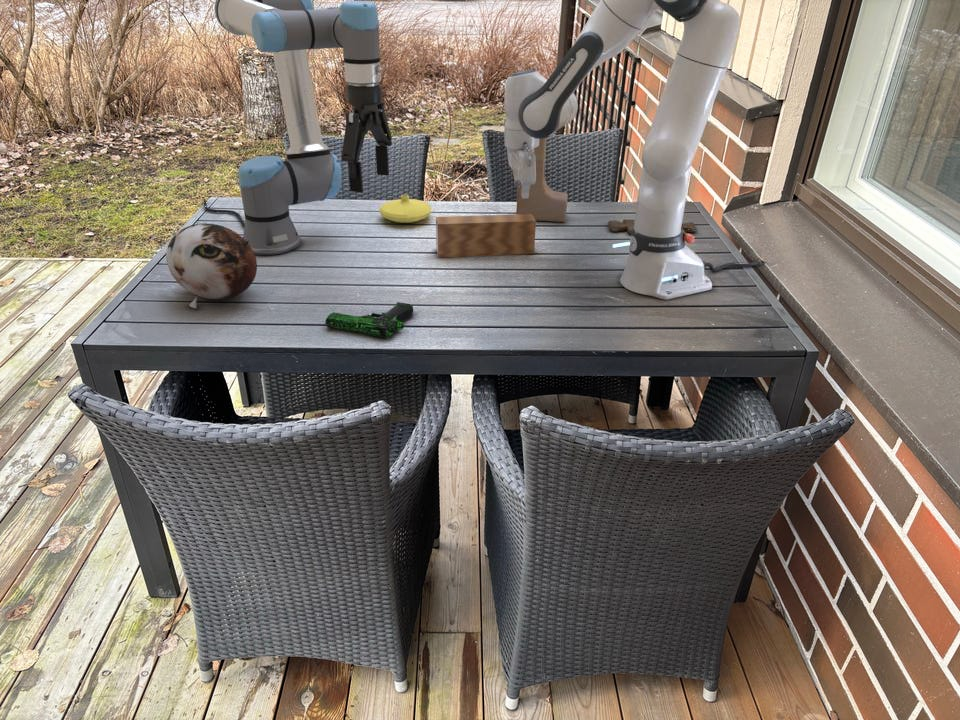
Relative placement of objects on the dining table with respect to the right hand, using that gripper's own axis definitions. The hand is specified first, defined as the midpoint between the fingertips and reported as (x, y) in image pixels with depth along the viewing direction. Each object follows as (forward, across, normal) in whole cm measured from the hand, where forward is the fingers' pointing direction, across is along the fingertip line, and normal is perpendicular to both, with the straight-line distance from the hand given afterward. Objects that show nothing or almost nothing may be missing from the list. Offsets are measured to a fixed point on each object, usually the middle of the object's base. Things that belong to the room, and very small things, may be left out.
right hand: (521, 192), depth 188 cm
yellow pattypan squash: (+15, +29, +30) cm, 44 cm away
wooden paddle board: (+18, +12, -42) cm, 47 cm away
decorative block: (+16, +26, -11) cm, 33 cm away
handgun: (+16, -38, +40) cm, 58 cm away
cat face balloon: (+14, -20, +77) cm, 81 cm away
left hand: (-10, -20, +39) cm, 45 cm away
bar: (+16, +1, +10) cm, 19 cm away
